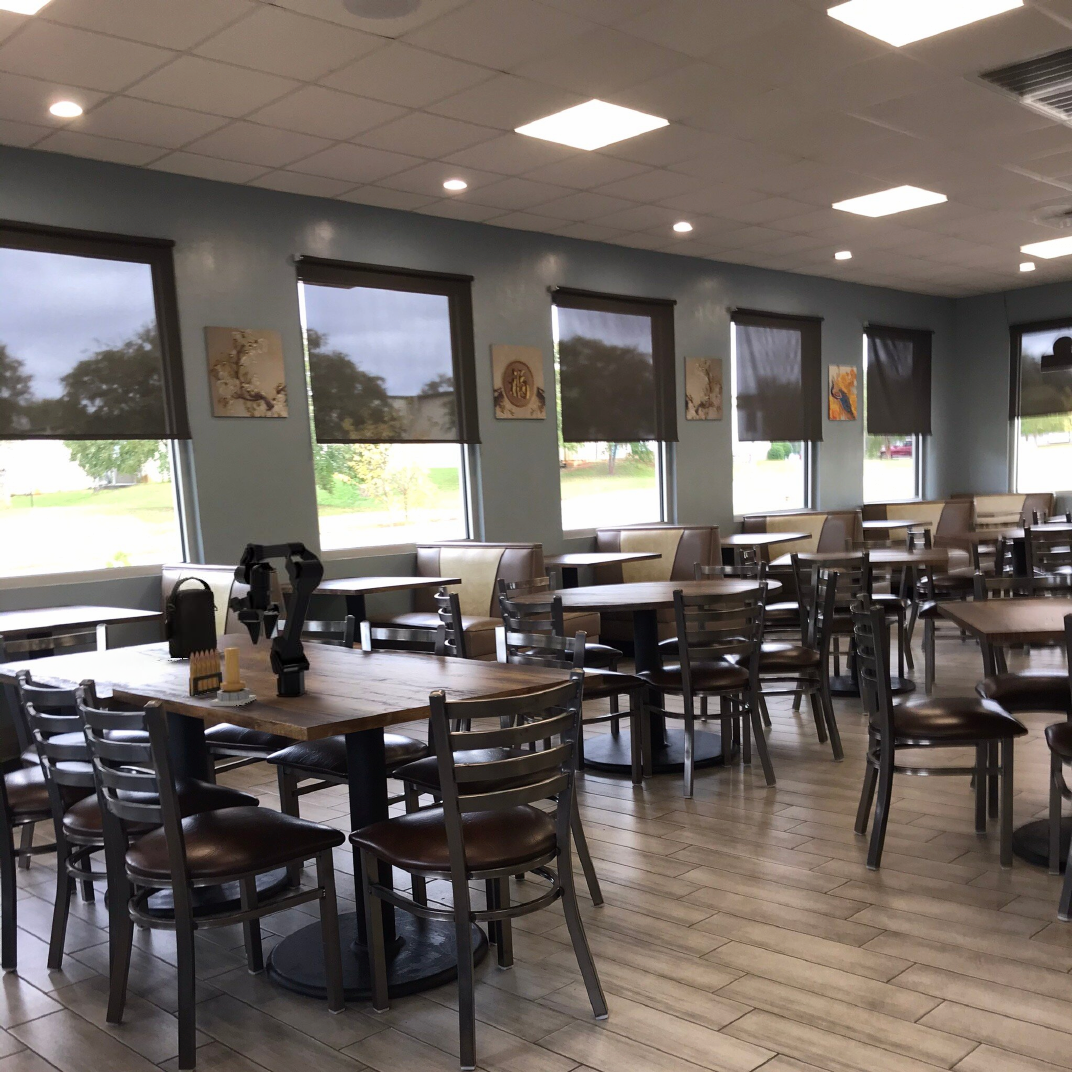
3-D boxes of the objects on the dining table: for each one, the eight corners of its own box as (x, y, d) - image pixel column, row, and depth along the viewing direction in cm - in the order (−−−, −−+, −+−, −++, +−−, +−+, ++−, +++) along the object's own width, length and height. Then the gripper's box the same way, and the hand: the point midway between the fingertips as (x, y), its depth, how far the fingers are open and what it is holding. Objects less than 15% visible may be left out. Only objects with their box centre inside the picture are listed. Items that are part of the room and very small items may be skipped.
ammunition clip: (193, 696, 285) (191, 653, 285) (189, 696, 286) (187, 652, 285) (223, 689, 294) (221, 647, 294) (218, 689, 295) (216, 647, 295)
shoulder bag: (175, 661, 353) (171, 579, 352) (157, 660, 358) (153, 579, 357) (225, 652, 373) (221, 574, 372) (207, 651, 377) (203, 574, 376)
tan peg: (244, 695, 277) (242, 646, 277) (247, 698, 272) (245, 648, 272) (219, 697, 275) (217, 648, 275) (222, 700, 269) (220, 650, 269)
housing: (256, 699, 277) (255, 687, 277) (241, 705, 268) (240, 693, 268) (226, 699, 278) (226, 687, 278) (210, 705, 270) (209, 693, 270)
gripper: (247, 582, 302) (248, 635, 303) (218, 590, 284) (220, 646, 285) (283, 583, 300) (284, 636, 301) (257, 590, 282) (258, 647, 283)
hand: (261, 641), depth 293 cm, fingers open, 9 cm apart
